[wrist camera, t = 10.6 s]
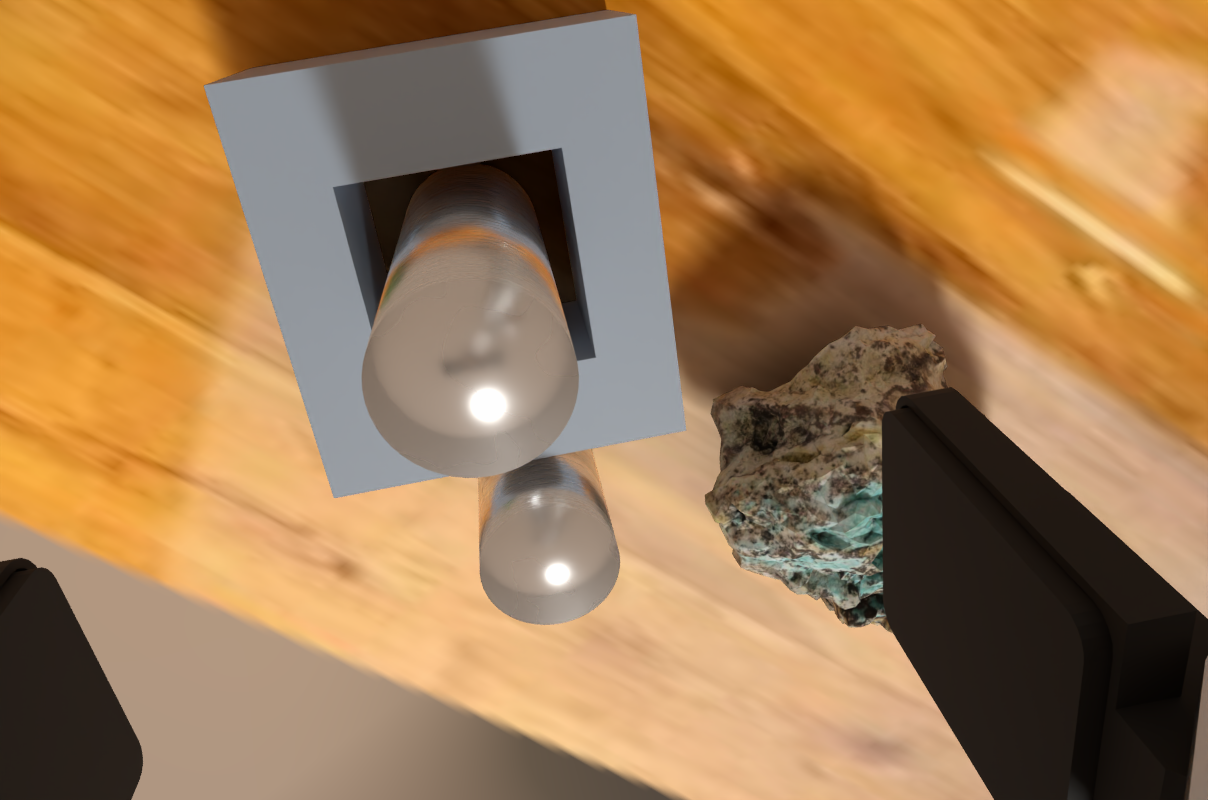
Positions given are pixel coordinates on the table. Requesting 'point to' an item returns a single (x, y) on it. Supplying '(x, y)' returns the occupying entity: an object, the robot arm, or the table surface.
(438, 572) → the table surface
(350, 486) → the hole block
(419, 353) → the long pin
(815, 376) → the mineral specimen
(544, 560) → the short pin
